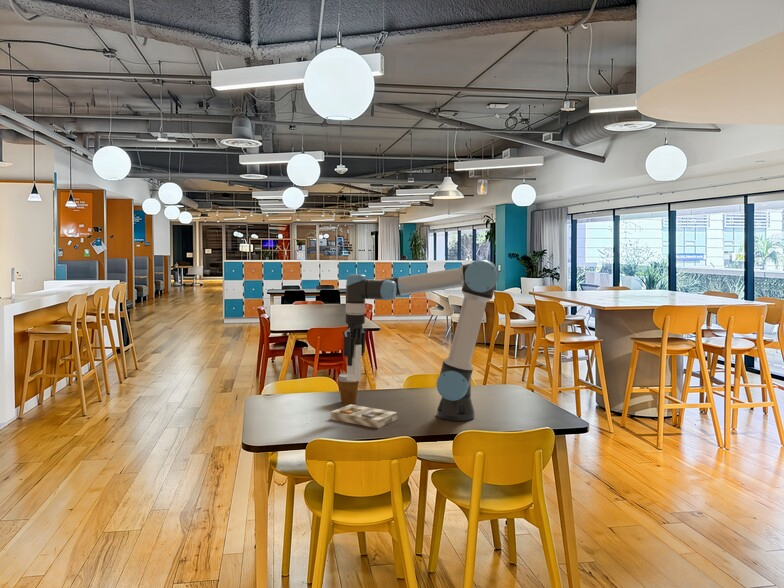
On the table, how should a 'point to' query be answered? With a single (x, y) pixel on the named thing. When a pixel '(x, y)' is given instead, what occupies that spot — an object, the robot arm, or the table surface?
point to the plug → (356, 365)
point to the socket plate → (364, 416)
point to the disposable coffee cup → (347, 389)
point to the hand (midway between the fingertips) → (354, 372)
